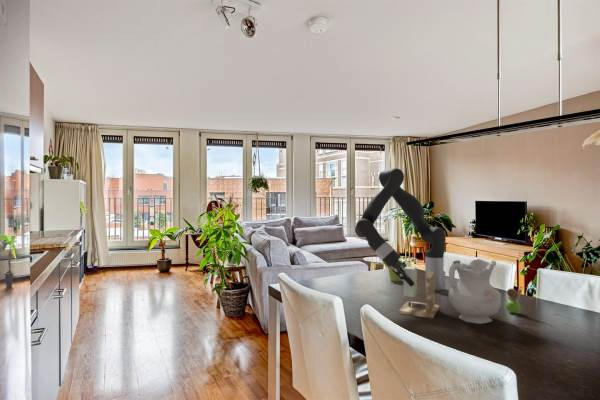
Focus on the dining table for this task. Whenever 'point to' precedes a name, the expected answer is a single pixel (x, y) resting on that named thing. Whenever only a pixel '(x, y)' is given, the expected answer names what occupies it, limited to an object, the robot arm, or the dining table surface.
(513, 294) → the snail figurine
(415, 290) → the pale green block
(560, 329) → the dining table surface
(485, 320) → the ceramic pitcher
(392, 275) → the plant pot
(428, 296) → the hinge base
